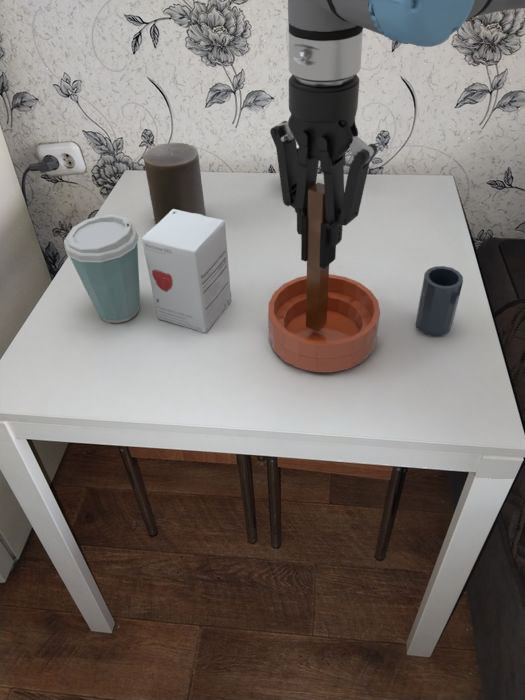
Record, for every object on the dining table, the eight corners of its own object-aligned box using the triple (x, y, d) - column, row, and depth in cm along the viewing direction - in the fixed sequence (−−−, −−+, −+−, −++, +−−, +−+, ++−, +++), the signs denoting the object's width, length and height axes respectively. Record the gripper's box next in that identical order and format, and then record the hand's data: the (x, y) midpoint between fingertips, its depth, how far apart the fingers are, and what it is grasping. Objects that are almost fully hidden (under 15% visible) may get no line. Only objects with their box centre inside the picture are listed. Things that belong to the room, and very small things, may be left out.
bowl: (394, 329, 88) (399, 298, 84) (338, 392, 79) (341, 361, 75) (308, 292, 95) (309, 262, 91) (248, 346, 87) (246, 315, 82)
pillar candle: (173, 242, 108) (160, 164, 97) (146, 220, 113) (131, 145, 103) (216, 223, 112) (208, 147, 101) (188, 203, 117) (178, 129, 107)
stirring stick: (326, 324, 87) (333, 186, 71) (318, 332, 85) (323, 194, 70) (314, 318, 88) (317, 182, 72) (305, 326, 86) (307, 189, 71)
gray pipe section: (457, 322, 89) (469, 274, 83) (441, 342, 86) (453, 293, 80) (425, 309, 91) (435, 261, 85) (409, 328, 88) (418, 280, 82)
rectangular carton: (155, 319, 92) (138, 237, 82) (185, 287, 98) (172, 206, 87) (206, 334, 89) (195, 251, 79) (233, 300, 95) (226, 218, 84)
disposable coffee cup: (83, 336, 90) (56, 253, 79) (87, 293, 97) (63, 213, 87) (153, 327, 91) (135, 244, 80) (152, 285, 98) (135, 205, 88)
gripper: (245, 72, 64) (255, 254, 80) (369, 100, 57) (353, 293, 73) (286, 52, 68) (288, 229, 84) (406, 76, 61) (382, 264, 77)
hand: (318, 259), depth 78 cm, fingers closed on stirring stick, 2 cm apart
